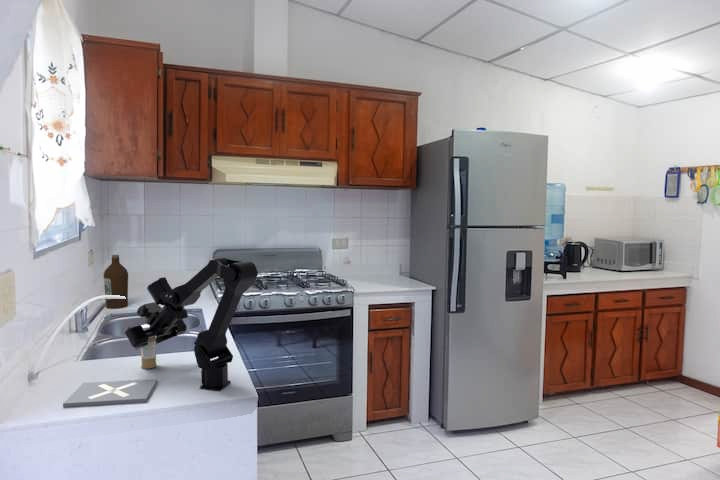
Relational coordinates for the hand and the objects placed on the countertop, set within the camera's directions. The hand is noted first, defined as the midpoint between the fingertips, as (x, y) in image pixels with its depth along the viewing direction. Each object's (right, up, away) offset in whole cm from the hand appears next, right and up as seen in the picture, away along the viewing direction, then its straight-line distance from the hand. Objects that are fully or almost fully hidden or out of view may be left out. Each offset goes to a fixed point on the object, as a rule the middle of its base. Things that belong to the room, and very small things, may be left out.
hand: (145, 345), depth 156 cm
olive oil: (-49, +1, +81) cm, 95 cm away
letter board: (+1, -9, -21) cm, 23 cm away
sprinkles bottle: (+1, -7, 0) cm, 7 cm away
